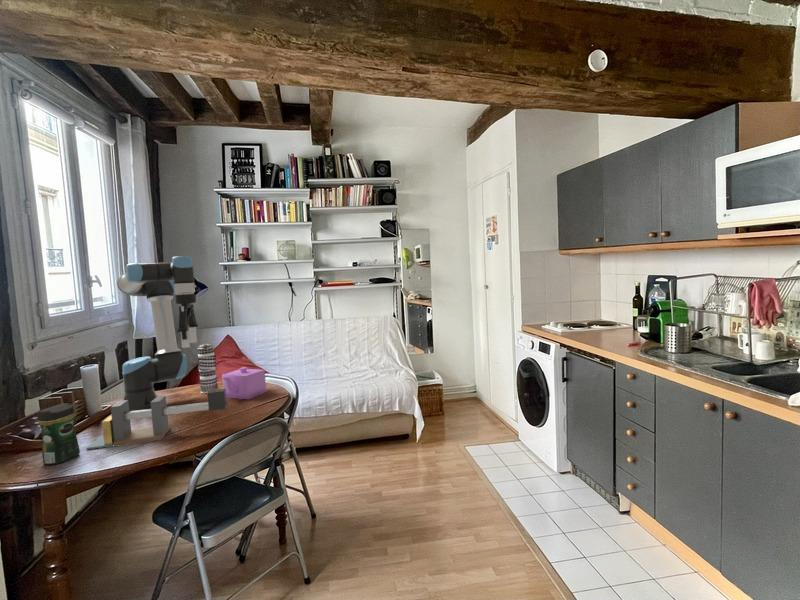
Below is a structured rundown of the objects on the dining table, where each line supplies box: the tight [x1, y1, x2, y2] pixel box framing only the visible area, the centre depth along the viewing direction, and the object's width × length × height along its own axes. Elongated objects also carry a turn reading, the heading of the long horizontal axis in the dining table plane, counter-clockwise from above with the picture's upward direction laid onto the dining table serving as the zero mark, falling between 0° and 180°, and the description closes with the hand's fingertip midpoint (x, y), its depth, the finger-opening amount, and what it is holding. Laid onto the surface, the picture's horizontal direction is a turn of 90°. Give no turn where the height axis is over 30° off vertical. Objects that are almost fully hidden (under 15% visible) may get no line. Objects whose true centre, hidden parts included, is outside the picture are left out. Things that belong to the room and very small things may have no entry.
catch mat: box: [86, 435, 114, 450], centre depth 157 cm, size 12×8×1 cm
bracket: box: [110, 395, 171, 447], centre depth 160 cm, size 12×16×14 cm
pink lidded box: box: [221, 366, 267, 400], centre depth 210 cm, size 15×25×14 cm, turn 156°
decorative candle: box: [196, 343, 219, 394], centre depth 222 cm, size 9×9×25 cm
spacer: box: [101, 414, 116, 445], centre depth 158 cm, size 10×2×8 cm, turn 15°
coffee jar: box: [37, 402, 81, 465], centre depth 143 cm, size 10×8×19 cm
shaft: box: [124, 388, 228, 420], centre depth 163 cm, size 4×36×7 cm, turn 105°
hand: (189, 344), depth 176 cm, fingers open, 13 cm apart
